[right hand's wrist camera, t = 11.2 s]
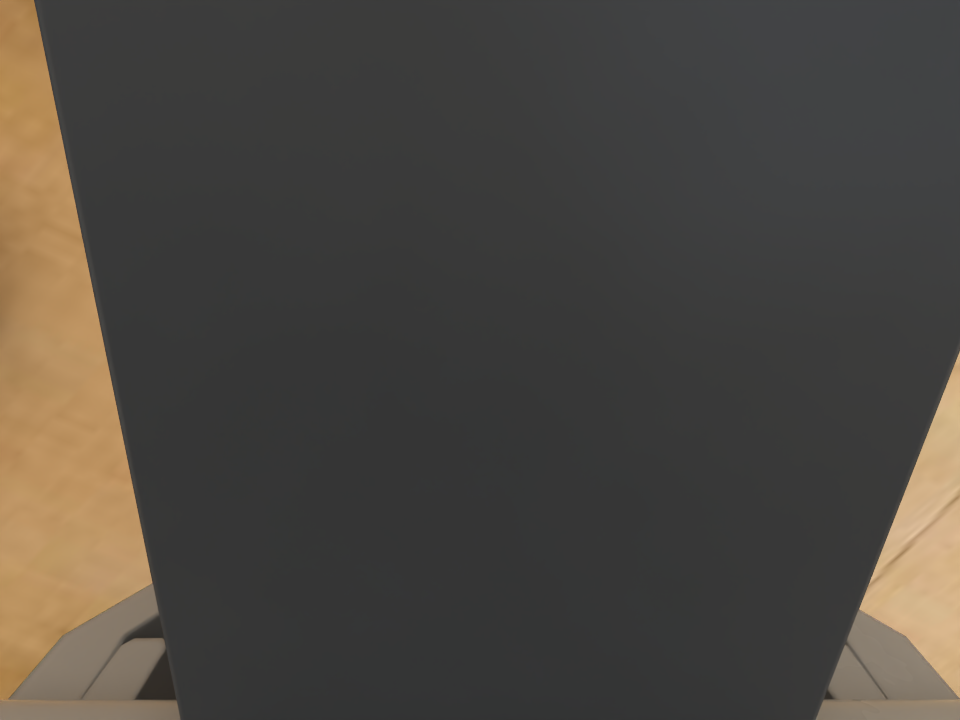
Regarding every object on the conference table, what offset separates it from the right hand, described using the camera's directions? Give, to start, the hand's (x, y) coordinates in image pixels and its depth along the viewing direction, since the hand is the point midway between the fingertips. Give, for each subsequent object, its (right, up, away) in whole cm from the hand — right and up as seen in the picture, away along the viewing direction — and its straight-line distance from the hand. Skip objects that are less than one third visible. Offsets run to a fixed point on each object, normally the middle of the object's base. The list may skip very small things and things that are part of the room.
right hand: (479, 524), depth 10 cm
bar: (0, +9, 0) cm, 9 cm away
